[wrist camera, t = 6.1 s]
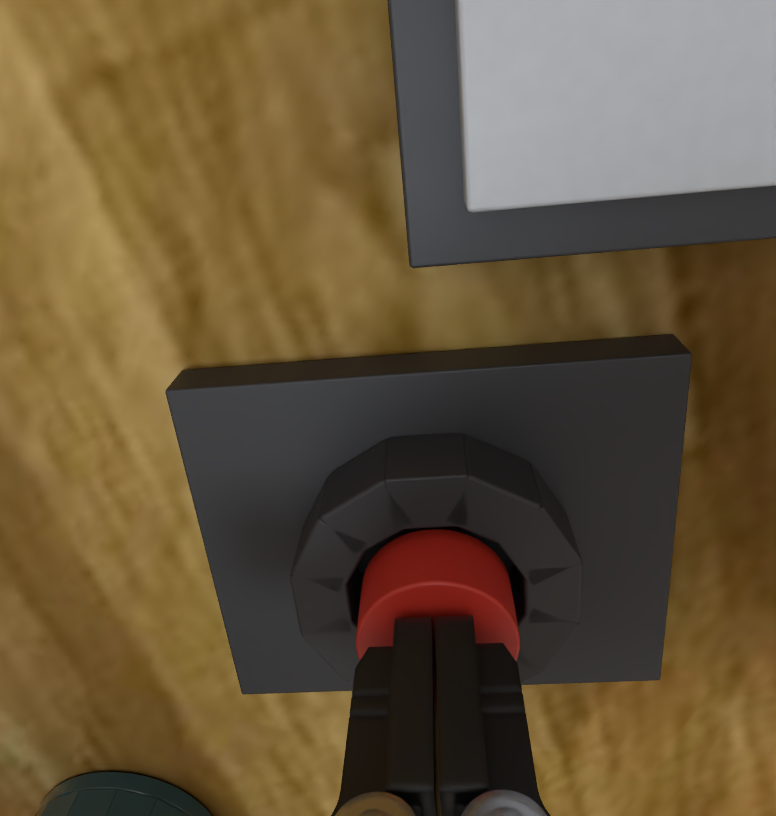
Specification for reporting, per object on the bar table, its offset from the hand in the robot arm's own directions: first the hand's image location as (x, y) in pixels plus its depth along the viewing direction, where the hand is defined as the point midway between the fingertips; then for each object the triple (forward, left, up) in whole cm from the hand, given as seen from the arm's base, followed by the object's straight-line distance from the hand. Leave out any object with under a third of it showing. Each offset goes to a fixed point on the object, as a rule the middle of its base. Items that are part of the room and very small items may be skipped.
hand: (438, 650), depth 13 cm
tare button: (0, 0, -2) cm, 2 cm away
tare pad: (0, 0, -5) cm, 4 cm away
